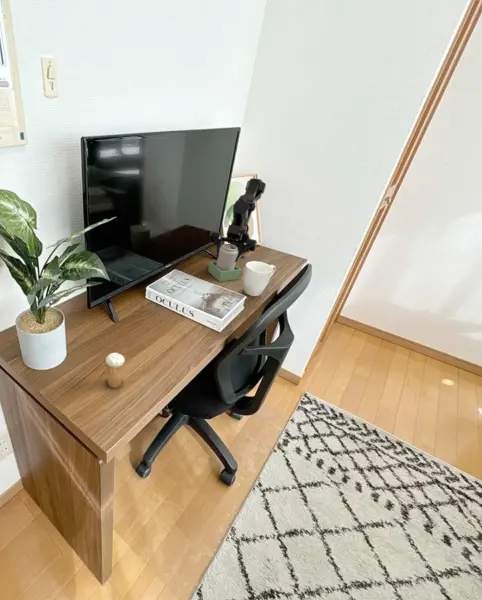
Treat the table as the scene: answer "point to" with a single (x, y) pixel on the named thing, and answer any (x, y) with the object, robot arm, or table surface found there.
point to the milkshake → (114, 369)
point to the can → (227, 257)
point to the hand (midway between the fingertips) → (226, 259)
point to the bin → (223, 272)
